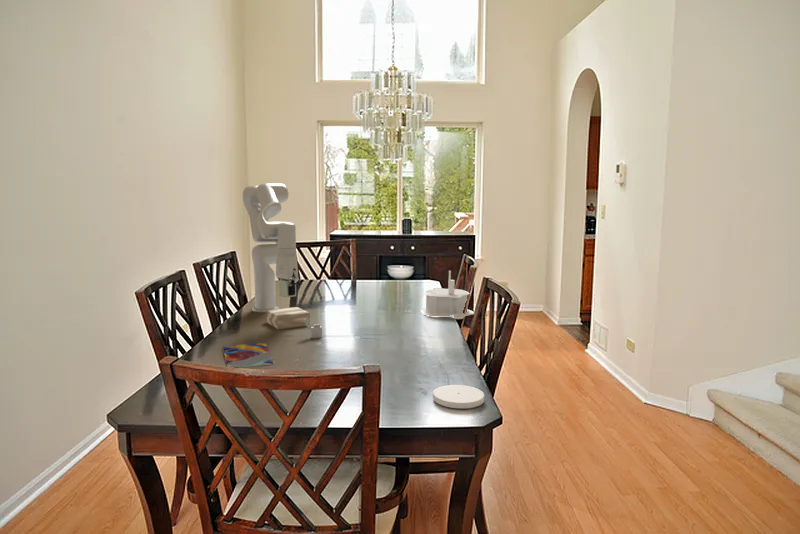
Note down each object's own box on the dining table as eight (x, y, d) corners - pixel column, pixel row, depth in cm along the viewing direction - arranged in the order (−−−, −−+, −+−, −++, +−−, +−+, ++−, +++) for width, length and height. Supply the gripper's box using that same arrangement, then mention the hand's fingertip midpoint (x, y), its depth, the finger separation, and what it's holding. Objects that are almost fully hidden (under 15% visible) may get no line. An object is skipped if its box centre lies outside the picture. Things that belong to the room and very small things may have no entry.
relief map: (275, 366, 184) (275, 360, 183) (227, 371, 178) (227, 365, 178) (265, 346, 207) (265, 341, 207) (222, 350, 202) (222, 344, 202)
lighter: (321, 336, 219) (321, 317, 218) (322, 337, 217) (322, 317, 216) (303, 337, 217) (303, 317, 216) (303, 338, 216) (303, 318, 215)
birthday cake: (406, 309, 273) (407, 266, 270) (458, 305, 284) (459, 264, 281) (432, 323, 245) (433, 275, 243) (488, 318, 256) (490, 272, 253)
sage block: (279, 296, 237) (279, 279, 236) (289, 294, 241) (288, 278, 240) (286, 297, 234) (286, 281, 233) (296, 296, 237) (295, 279, 236)
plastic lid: (439, 390, 162) (439, 382, 162) (487, 396, 158) (487, 387, 158) (427, 408, 149) (427, 399, 148) (479, 415, 145) (480, 405, 144)
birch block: (266, 323, 241) (266, 310, 240) (297, 320, 249) (296, 306, 248) (278, 330, 229) (277, 316, 229) (309, 326, 237) (309, 312, 236)
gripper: (267, 251, 238) (269, 293, 240) (291, 253, 226) (292, 297, 228) (282, 250, 243) (283, 291, 245) (306, 252, 232) (307, 295, 234)
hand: (287, 293), depth 237 cm, fingers closed on sage block, 5 cm apart
